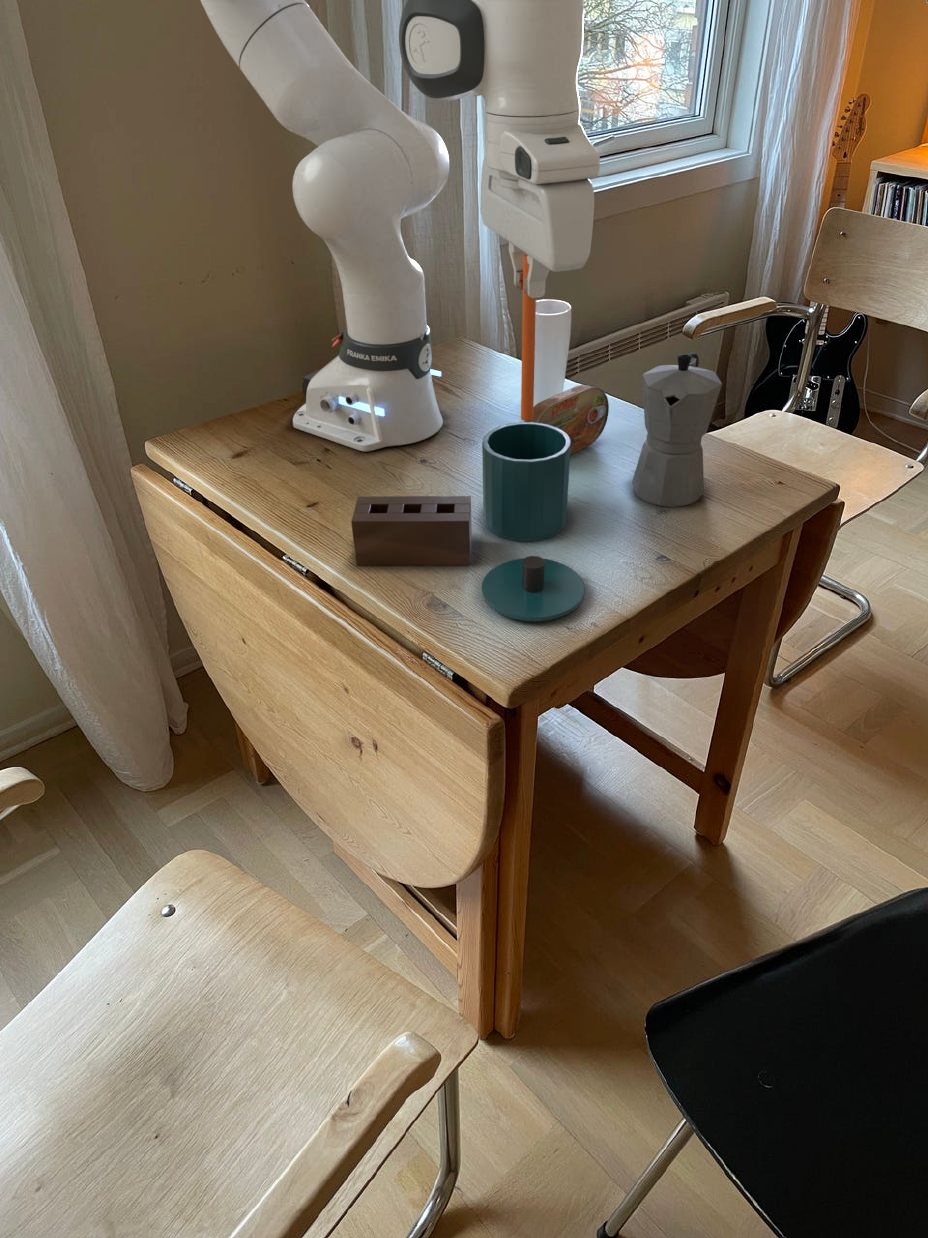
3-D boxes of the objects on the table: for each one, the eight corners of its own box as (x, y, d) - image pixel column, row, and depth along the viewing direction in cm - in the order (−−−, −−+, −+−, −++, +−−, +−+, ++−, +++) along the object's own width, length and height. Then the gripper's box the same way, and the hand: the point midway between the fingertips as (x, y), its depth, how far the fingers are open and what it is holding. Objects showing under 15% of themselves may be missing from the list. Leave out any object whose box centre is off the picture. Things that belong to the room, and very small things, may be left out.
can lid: (522, 639, 91) (523, 605, 89) (462, 587, 99) (460, 555, 96) (605, 601, 96) (608, 568, 94) (541, 554, 104) (542, 523, 101)
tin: (533, 472, 119) (535, 414, 114) (517, 464, 121) (518, 406, 116) (608, 437, 127) (613, 381, 122) (592, 430, 129) (595, 374, 124)
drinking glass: (564, 415, 133) (569, 315, 124) (519, 413, 134) (521, 313, 125) (569, 397, 138) (574, 299, 129) (526, 394, 139) (528, 298, 130)
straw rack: (362, 539, 107) (357, 496, 104) (471, 539, 107) (470, 495, 103) (356, 565, 103) (351, 521, 99) (470, 565, 102) (469, 521, 99)
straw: (519, 419, 102) (521, 255, 91) (523, 415, 103) (526, 252, 92) (530, 421, 101) (534, 257, 90) (534, 417, 102) (539, 253, 91)
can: (470, 530, 108) (468, 451, 102) (503, 492, 115) (504, 416, 109) (548, 549, 105) (551, 468, 98) (578, 508, 112) (582, 430, 105)
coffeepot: (695, 521, 109) (717, 380, 98) (619, 508, 111) (632, 370, 100) (715, 464, 120) (736, 332, 109) (645, 454, 123) (660, 324, 112)
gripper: (464, 129, 92) (467, 268, 100) (543, 167, 76) (539, 326, 85) (521, 124, 93) (519, 261, 102) (609, 159, 78) (599, 317, 86)
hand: (529, 291), depth 93 cm, fingers closed on straw, 1 cm apart
